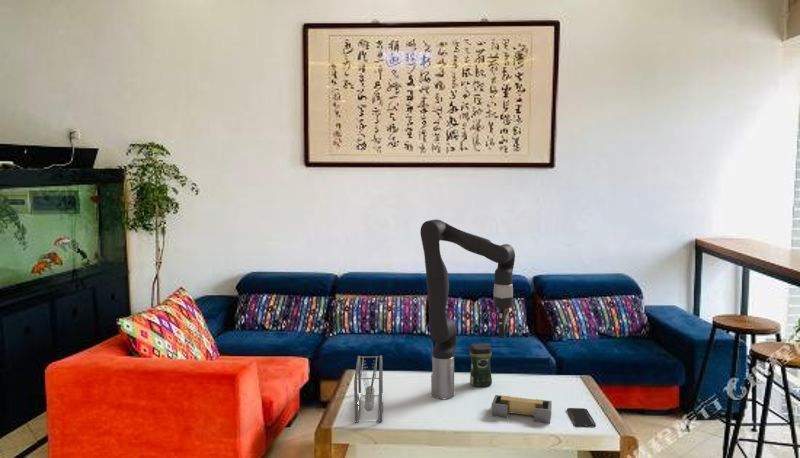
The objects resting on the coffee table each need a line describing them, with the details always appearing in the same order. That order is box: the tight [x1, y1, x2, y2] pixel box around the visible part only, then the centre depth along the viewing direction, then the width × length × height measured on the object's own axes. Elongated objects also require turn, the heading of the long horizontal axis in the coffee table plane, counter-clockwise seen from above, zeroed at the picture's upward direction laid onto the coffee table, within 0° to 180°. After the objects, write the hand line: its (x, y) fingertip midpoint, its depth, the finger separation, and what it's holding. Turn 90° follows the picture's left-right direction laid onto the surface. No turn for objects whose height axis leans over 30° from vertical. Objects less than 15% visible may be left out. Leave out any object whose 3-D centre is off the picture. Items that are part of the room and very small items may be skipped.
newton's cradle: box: [353, 355, 384, 423], centre depth 228 cm, size 30×10×18 cm, turn 1°
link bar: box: [500, 395, 544, 416], centre depth 220 cm, size 16×4×5 cm, turn 71°
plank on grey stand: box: [491, 394, 553, 424], centre depth 220 cm, size 22×10×5 cm, turn 72°
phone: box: [566, 407, 597, 428], centre depth 217 cm, size 8×1×15 cm
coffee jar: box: [469, 342, 493, 388], centre depth 252 cm, size 10×8×19 cm
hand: (503, 335), depth 224 cm, fingers open, 8 cm apart
